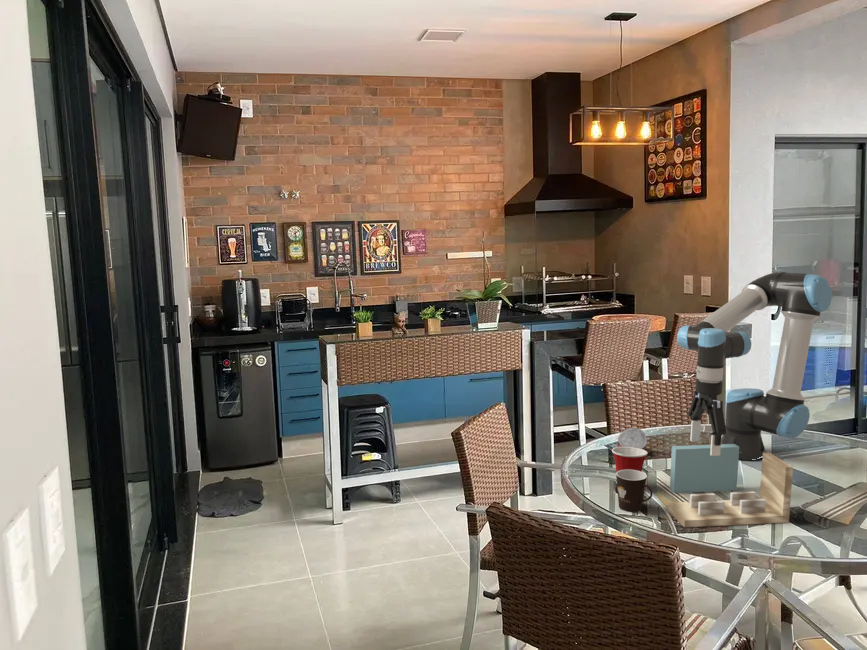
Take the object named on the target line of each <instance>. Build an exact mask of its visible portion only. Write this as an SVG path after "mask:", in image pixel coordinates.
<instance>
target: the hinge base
mask: <svg viewBox="0 0 867 650" xmlns="http://www.w3.org/2000/svg"><path fill="white" fill-rule="evenodd" d="M761 460H762V462H761V476H760V489H759V490H760V492H759V498H757V492H755V491H753V490H752V491H733V492H732V491H731V492H730V491H729V492H730V493H729V495H730V497H729V499H726V500H725V499H723V500H721V499H720V500H716V498H717V497H716V494H715V492H714V493H713V492H712V493H711V492H710V493H709V492H708V493H707V492H705V493H690V494H689V501H683V502H682V501H679V502H667V503H666V511H668V513H670V515H672V516H673V518H675V519H676V521H678V523H679V524H681V526H683V527H684V528H699V527H716V526H717V527H718V526H719V527H720V526H721V527H722V526H737V525H738V526H740V525H741V526H742V525H759V524H760V525H761V524H763V525H764V524H777V523H778V524H780V523H782V524H783V523H790V511H791V501H792V500H791V498H792V486H793V485H792V484H793V476H794V475H793V474H794V473H793V472H794V467H793V466H792V465H790V464H789V463H787V462H786V461H784V460H782V459H781V458H779V457H778V456H776V455H774V454H773V453H771V452H765V453H763V459H761Z"/></svg>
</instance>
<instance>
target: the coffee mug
mask: <svg viewBox="0 0 867 650" xmlns="http://www.w3.org/2000/svg"><path fill="white" fill-rule="evenodd" d="M615 476H616V488H617V500H618V501H617V502H618V508H619V509H620V510H622V511H623V512H627V513H628V512H629V513H637V512H638V513H639V512H641V510H642V508H643V503H644V502H647V501H649V500H650V499H651V498H652V497H653V490H652V488H651V487H650V486H649V485H647V478H648V475H647V474H646V473H645V472H643V471H642V472H641V471H637V470H629V469H628V470H620V471H618V472H616V471H615ZM645 489H648V490H649V496H648V498H645V499H644V495H645V492H646V491H645Z"/></svg>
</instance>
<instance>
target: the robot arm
mask: <svg viewBox="0 0 867 650" xmlns="http://www.w3.org/2000/svg"><path fill="white" fill-rule="evenodd" d="M831 302H832V289H831V285H830V282H829V281H828V280H827V278H825V277H824V276H822V275H817V274H812V273H800V272H799V273H798V272H797V273H796V272H786V271H777V272H771V273H767V274H765V275H763V276H761V277H760V276H759V277H758V278H755V279H754V280H753V281H751V282H750V283H748V284H746V285H745V286H743V288H742V289H741V293H738V295H736V296H735V297H733V298H732V299H731V300H728V302H726V303H725V304H723V305H722V306H721V307H719V308H718V309H716V310H715V311H714V312H712V313H711V314H710V315H708V316H707V317H705V318H704V319H702V320H701V321H699V322H698V323H697V324H695V325H694V326H693V325H682V326H681V327H680V328H679V330H678V331H677V334H676V335H677V336H676V339H677V344H678V345H679V347H681V348H683V349H687V350H690V351H697V362H696V369H695V373H696V377H695V378H696V380H695V388H694V389H695V390H694V392H693V398H692V401H691V404H690V407H689V410H688V413H687V415H688V417H690V420H691V424H690V425H691V426H690V440H689V441H690V442H700V441H701V426H702V423H701V422H702V416H703V414H704V413H705V412H706V415H708V418H709V422H710V425H711V429H712V432H711V433H710V434H711V435H710V436H711V438H710V440H711V441H710V445H711V450H710V455H711V456H720V450H721V444H736V445H737V446H739V459H740V460H739V461H747V460H752V459H757V458H759V457H761V456H763V453H766V449H765V445H764V441H763V438H762V432H765V433H768V434H773V435H777V436H778V437H784V438H788V439H794V438H797V437H798V436H800V435H801V434H802V433H803V432H804V431H805V429H806V428H807V426H808V423H809V421H810V417H811V416H810V409H809V407H808V406H806V405H805V398H804V396H803V395H802V392H801V391H802V387H803V381H804V376H805V370H806V365H807V360H808V353H809V349H810V343H811V339H812V338H811V337H812V332H813V327H814V322H815V321H816V320H818V319H819V318H820V317H821V313H824V312H825V311H827V310H828V309H829V307H830V305H831ZM772 306H773V307H781V310H780V312H781V314H782V315H783V317H784V322H783V327H782V332H781V333H782V334H781V337H780V342H779V343H780V344H779V348H778V355H777V360H776V366H775V373H774V377H773V382H772V383H773V384H772V387H771V388H770V389H769V390H768V391H766V393H764V390H762V389H760V388H747V387H746V388H736V389H731V390H729V392H728V393H727V396H726V401H725V403H726V404H725V415H724V410H723V408H724V406H723V405H724V403H723V400H718V396H719V395H722V393H723V382H722V381H723V379H724V365H725V363H724V362H725V359H732V358H739V357H742V356H746V355H747V354H748V353H749V352H750V351H751V349H752V339H751V338H750V336H749V335H748V334H747V333H746V332H744V331H733V332H731V331H730V330H732V329H733V328H734V327H735V326H737V325H738V324H740V323H741V322H742V321H744V320H745V319H747V318H748V317H749V316H751V315H752V314H753V313H755V312H756V311H762V310H764V309H765V308H767V307H772ZM729 331H730V332H729ZM741 459H742V460H741Z"/></svg>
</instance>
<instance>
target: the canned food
mask: <svg viewBox="0 0 867 650" xmlns="http://www.w3.org/2000/svg"><path fill="white" fill-rule="evenodd" d="M617 440H618V441H617V444H616V445H617V446H616V447H634V448H639V449H643V450H645V451H647V444H648V438H647V436H646V433H645V432H644V431H643V429H640V428H638V427H629V428H627V429H624V430H623V431H622V432H621V433H620V434H619V435H618V438H617Z"/></svg>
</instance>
